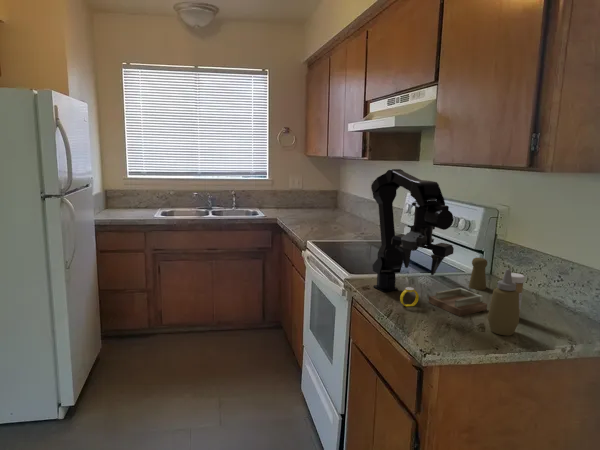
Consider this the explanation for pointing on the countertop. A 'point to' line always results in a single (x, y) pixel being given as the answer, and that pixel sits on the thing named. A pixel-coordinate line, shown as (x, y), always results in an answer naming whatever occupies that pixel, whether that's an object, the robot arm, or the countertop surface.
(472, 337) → the countertop surface
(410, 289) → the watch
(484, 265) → the wooden pepper mill
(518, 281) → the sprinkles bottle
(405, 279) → the countertop surface
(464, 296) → the dock
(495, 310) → the squeeze bottle
